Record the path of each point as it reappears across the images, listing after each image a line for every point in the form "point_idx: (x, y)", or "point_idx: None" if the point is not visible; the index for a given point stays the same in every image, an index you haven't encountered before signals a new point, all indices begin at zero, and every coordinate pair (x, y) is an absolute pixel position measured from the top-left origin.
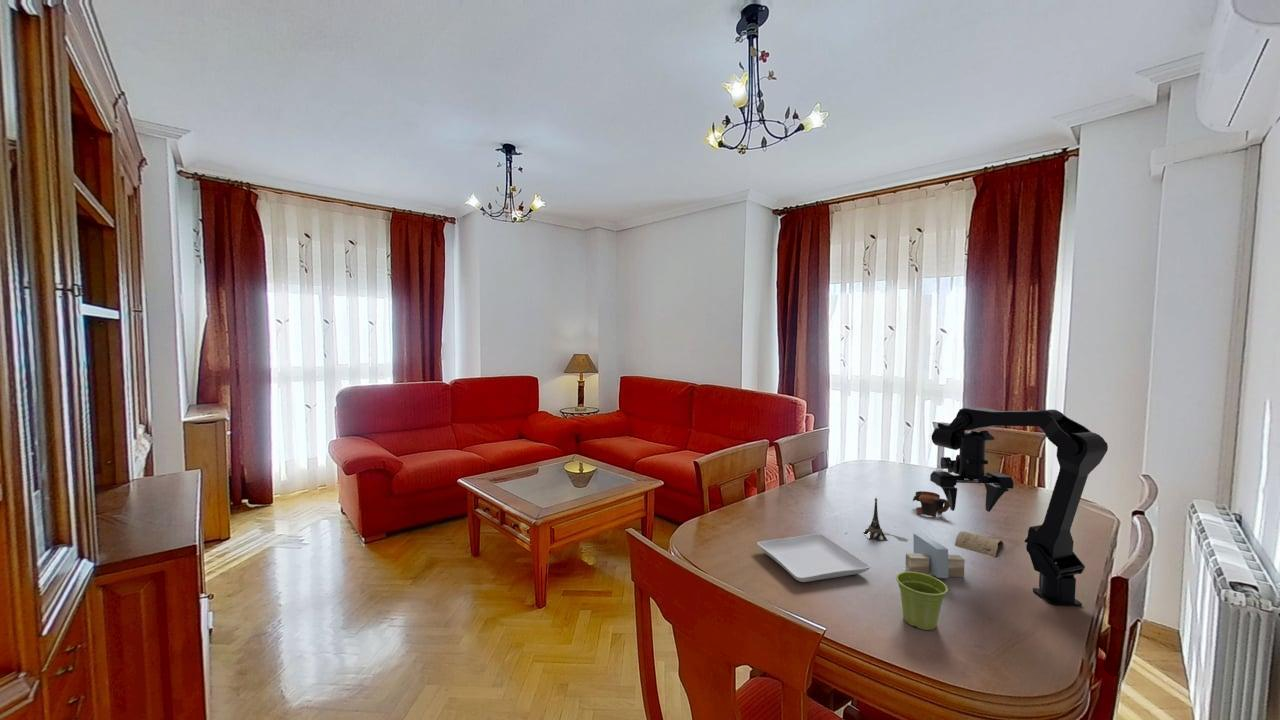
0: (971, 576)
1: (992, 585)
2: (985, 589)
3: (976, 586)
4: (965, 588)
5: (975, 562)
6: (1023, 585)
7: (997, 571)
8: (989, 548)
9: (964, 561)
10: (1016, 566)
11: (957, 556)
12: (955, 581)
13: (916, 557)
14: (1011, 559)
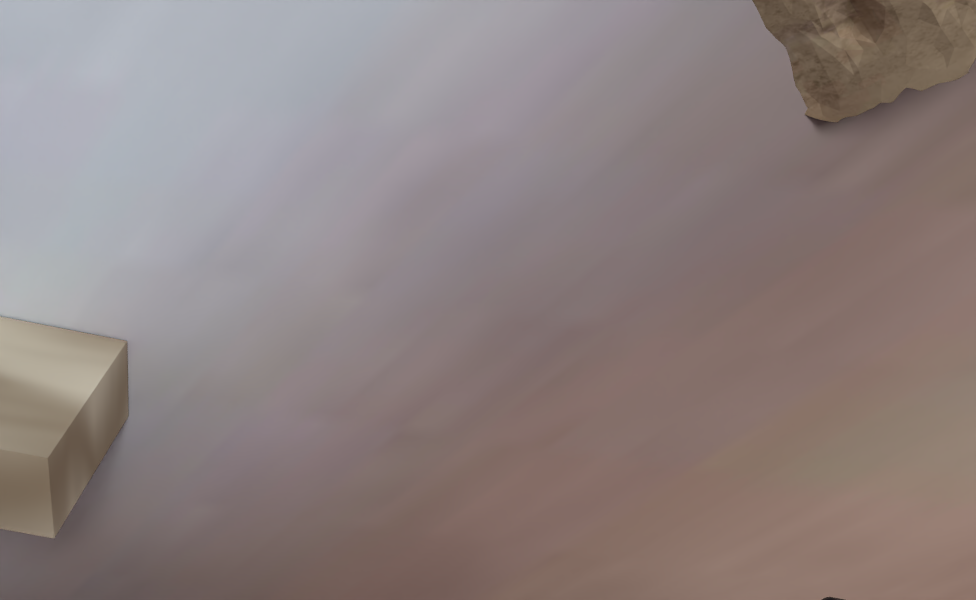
0: (205, 414)
1: (281, 535)
2: (185, 564)
3: (143, 528)
4: None
5: (456, 200)
6: (529, 568)
7: (522, 381)
8: (897, 10)
9: (62, 523)
10: (817, 332)
11: (14, 481)
12: None
13: None
14: (948, 198)
